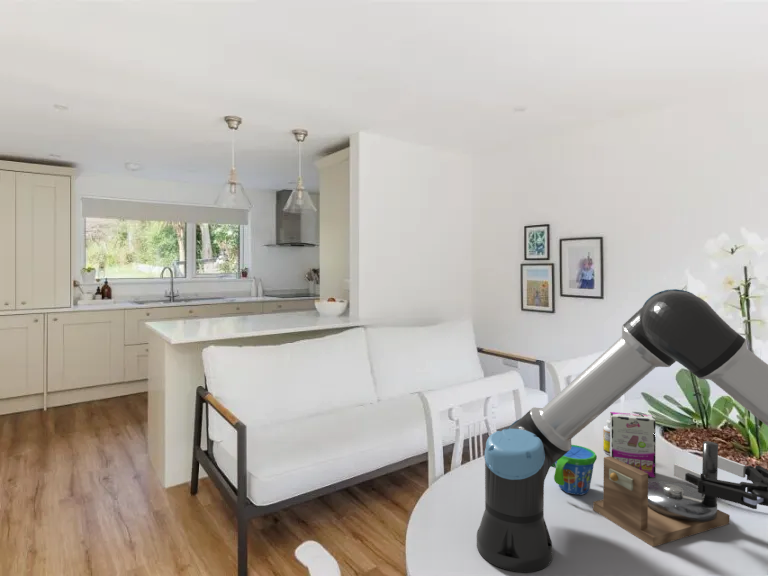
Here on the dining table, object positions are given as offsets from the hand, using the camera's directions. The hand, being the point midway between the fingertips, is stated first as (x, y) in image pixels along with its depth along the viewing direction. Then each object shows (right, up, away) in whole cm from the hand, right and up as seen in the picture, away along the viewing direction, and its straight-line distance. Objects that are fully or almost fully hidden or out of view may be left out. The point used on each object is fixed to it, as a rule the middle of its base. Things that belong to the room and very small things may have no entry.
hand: (695, 464), depth 108 cm
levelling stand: (-9, -12, 0) cm, 15 cm away
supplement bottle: (-1, -11, +37) cm, 39 cm away
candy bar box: (-2, -11, +24) cm, 26 cm away
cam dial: (-4, -10, +1) cm, 10 cm away
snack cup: (-23, -12, +14) cm, 29 cm away
